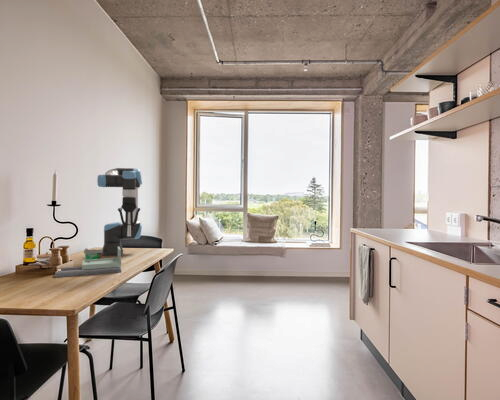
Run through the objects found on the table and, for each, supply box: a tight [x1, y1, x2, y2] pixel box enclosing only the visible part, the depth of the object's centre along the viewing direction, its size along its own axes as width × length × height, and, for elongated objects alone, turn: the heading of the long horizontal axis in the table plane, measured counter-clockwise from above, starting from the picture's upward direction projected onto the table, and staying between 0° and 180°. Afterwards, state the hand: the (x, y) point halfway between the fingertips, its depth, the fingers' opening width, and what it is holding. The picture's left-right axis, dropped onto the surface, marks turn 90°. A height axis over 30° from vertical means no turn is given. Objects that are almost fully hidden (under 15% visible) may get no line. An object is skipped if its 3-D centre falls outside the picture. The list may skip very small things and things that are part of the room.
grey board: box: [54, 265, 122, 279], centre depth 195 cm, size 18×33×2 cm, turn 114°
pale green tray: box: [81, 246, 122, 270], centre depth 197 cm, size 16×20×10 cm
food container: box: [83, 248, 103, 260], centre depth 212 cm, size 12×6×10 cm, turn 73°
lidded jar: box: [36, 251, 52, 262], centre depth 204 cm, size 11×11×9 cm
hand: (129, 236), depth 203 cm, fingers closed
